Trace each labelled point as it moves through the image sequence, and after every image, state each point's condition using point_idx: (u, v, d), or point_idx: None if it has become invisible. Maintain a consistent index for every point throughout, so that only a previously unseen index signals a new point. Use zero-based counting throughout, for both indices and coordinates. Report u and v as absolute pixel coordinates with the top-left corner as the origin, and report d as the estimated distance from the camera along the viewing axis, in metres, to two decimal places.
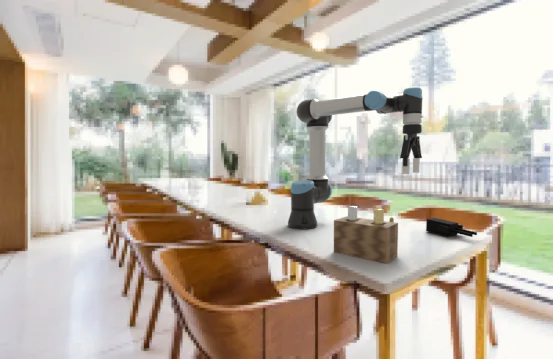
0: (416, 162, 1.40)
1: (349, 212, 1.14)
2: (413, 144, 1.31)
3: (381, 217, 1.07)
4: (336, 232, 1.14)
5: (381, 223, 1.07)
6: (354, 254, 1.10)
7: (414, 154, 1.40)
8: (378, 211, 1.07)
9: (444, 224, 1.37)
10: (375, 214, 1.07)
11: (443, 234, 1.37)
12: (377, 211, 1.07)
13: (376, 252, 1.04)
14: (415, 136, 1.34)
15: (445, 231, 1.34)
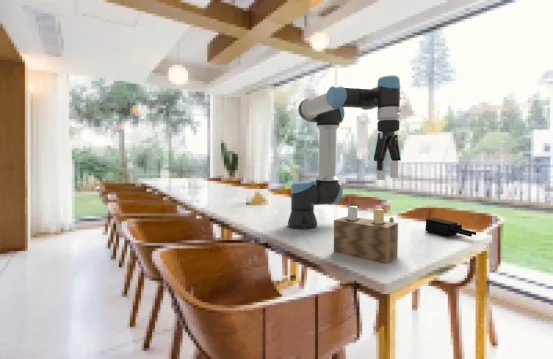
0: (394, 165, 1.17)
1: (349, 212, 1.14)
2: (389, 144, 1.09)
3: (381, 217, 1.07)
4: (336, 232, 1.14)
5: (381, 223, 1.07)
6: (354, 254, 1.10)
7: (392, 156, 1.17)
8: (378, 211, 1.07)
9: (443, 224, 1.37)
10: (375, 214, 1.07)
11: (442, 233, 1.38)
12: (377, 211, 1.07)
13: (376, 252, 1.04)
14: (392, 134, 1.12)
15: (444, 231, 1.35)
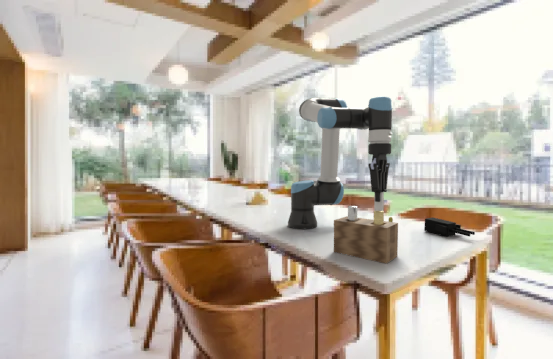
0: None
1: (349, 212, 1.14)
2: (382, 170, 1.05)
3: (381, 219, 1.07)
4: (336, 232, 1.14)
5: None
6: (354, 254, 1.10)
7: None
8: (378, 213, 1.07)
9: (442, 224, 1.38)
10: (375, 216, 1.07)
11: (441, 233, 1.38)
12: (377, 213, 1.07)
13: (376, 252, 1.04)
14: (385, 155, 1.08)
15: (443, 231, 1.35)
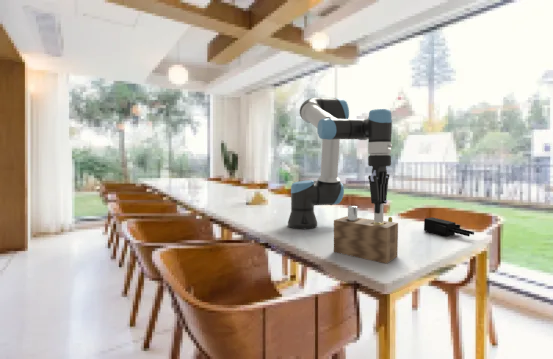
0: None
1: (349, 212, 1.14)
2: (382, 182, 1.06)
3: None
4: (336, 232, 1.14)
5: None
6: (354, 254, 1.10)
7: None
8: None
9: (441, 224, 1.38)
10: None
11: (441, 233, 1.38)
12: None
13: (376, 252, 1.04)
14: (384, 166, 1.08)
15: (442, 231, 1.35)
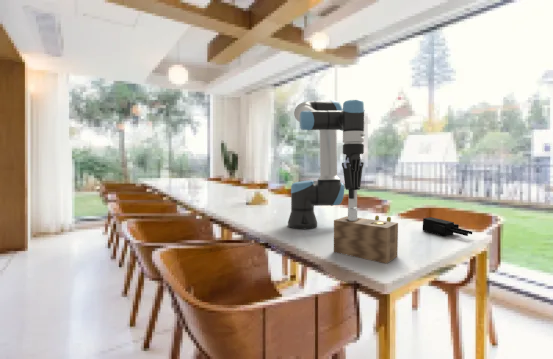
0: None
1: (349, 213, 1.14)
2: (355, 169, 1.12)
3: None
4: (336, 232, 1.14)
5: None
6: (354, 254, 1.10)
7: None
8: None
9: (440, 223, 1.39)
10: None
11: (439, 233, 1.39)
12: None
13: (376, 252, 1.04)
14: (358, 154, 1.14)
15: (441, 230, 1.36)
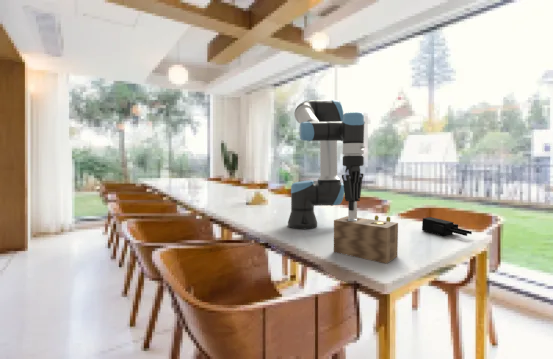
0: None
1: None
2: (355, 181, 1.12)
3: None
4: (336, 232, 1.14)
5: None
6: (354, 254, 1.10)
7: None
8: None
9: (439, 223, 1.39)
10: None
11: (438, 233, 1.39)
12: None
13: (376, 252, 1.04)
14: (358, 166, 1.15)
15: (440, 230, 1.36)
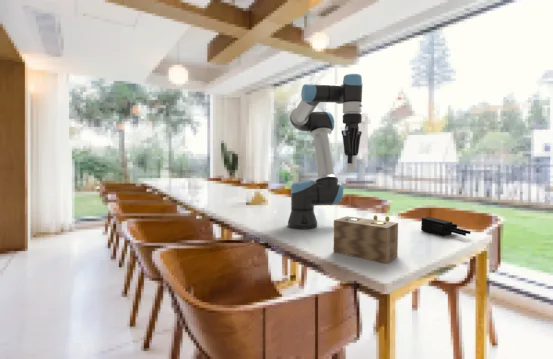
0: None
1: None
2: (354, 136, 1.25)
3: None
4: (336, 232, 1.14)
5: None
6: (354, 254, 1.10)
7: None
8: None
9: (438, 223, 1.39)
10: None
11: (437, 232, 1.40)
12: None
13: (376, 252, 1.04)
14: (356, 124, 1.27)
15: (439, 230, 1.37)
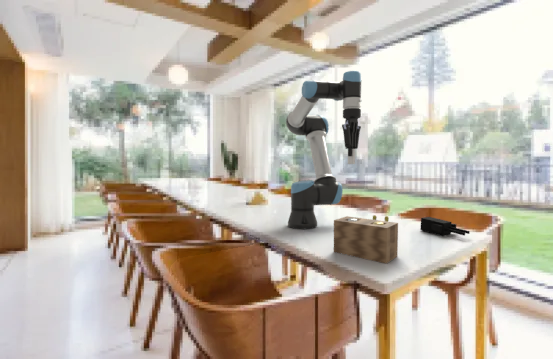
0: None
1: None
2: (354, 130, 1.31)
3: None
4: (336, 232, 1.14)
5: None
6: (354, 254, 1.10)
7: None
8: None
9: (437, 223, 1.39)
10: None
11: (437, 232, 1.40)
12: None
13: (376, 252, 1.04)
14: (356, 119, 1.33)
15: (438, 230, 1.37)
